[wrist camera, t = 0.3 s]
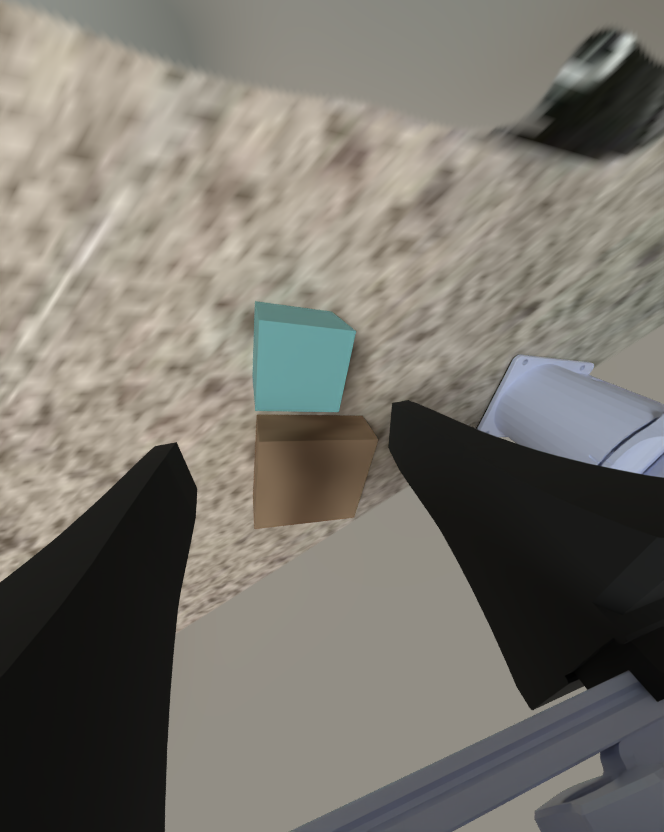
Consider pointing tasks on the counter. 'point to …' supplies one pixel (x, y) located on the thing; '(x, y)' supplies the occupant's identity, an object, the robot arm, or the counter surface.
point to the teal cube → (299, 358)
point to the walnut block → (309, 468)
